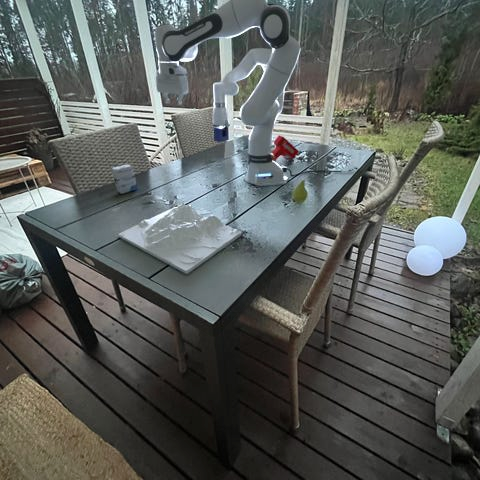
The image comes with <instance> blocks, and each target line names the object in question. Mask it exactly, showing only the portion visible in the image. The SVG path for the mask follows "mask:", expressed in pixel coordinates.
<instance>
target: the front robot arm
mask: <svg viewBox="0 0 480 480" xmlns="http://www.w3.org/2000/svg"><path fill="white" fill-rule="evenodd" d="M291 25H292V17H291V12H290V11H289V10H288V8H287V7H286V6H284V5H281V4H275V3H268V2H267V1H266V0H228V1H226V2H225V3H223V4H222V5H221V6H219V7H217V8H216V9H215V10H214V11H212V12H211V13H209V14H207V15H206V16H205V17H203V18H201V19H199V20H196V21H195V22H193V23H191V24H190V25H188V26H186V27H185V28H182V29H180V30H179V29H177V28H176V27H175V26H174V25H173V24H172V23H171V24H170V23H162V24H159V25H157V27H155V30H154V38H155V39H154V41H155V49H156V52H157V57H158V58H157V59H158V61H157V63H158V64H157V65H158V69H157V70H156V73H155V87H156V91H157V93H162V97H163V99H164V104H171V99H170V98H169V96H168V95H169V94H174V95H175V94H176V96H177V100H176V104H177V105H178V106H180V105H181V106H182V105H183V98H184V95H187V94H188V93H189V80H188V77H187V74H188V72H187V71H188V70H187V69H186V68H185V67H183V66H182V65H180V64H179V63H180V62H190V61H194V59H196V58H197V55H198V53H199V46H198V45H199V44H201V43H203V42H205V41H207V40H210V39H232V38H234V37H237V36H241V34H243V33H245V32H247V31H249V30H251V29H253V28H259V31H260V35H261V36H262V38H263V39H264V41H265V42H266V43H267V44H268V45H269V46H270V47H271V49H273V51H272V54H271V56H270V59H269V61H268V64H267V66H266V68H265V71H264V70H263V74H262V76H261V78H260V80H259V82H258V84H257V85H256V87H255V88H254V90H253V92H252V93H251V95H250V96H249V98H248V99H247V100H246V101H245V103H243V104H242V105H241V107H240V110H239V118H240V120H241V122H242V123H243V124H244V125H246V126H250V127H252V129H251V132H250V134H249V136H248V152H247V155H246V156H247V157H246V158H247V159H246V162H247V171H246V175H245V177H244V179H245V180H244V181H245V182H246V183H249V184H252V185H255V186H257V187H267V186H279V185H286V184H288V182H289V181H288V180H289V179H288V177H287V176H286V175H285V173H287V172H288V171H289V175H290V176H291V177H296V176H298V175H301V174H306V173H342V172H341V171H342V170H323V169H322V170H319V169H318V170H306V171H301V172H298V173H296V174H293V173H292V170H291V168H289V167H287V166H285V165H284V164H279V163H277V161H276V162H275V161H274V160H275V159H276V157H275V156H274V155H273V154H272V153H271V148H272V147H271V136H272V137H273V134H272V132H273V131H274V128H275V124H276V120H277V118H278V117H279V115H280V114H279V112H280V106H279V103H278V102H277V98H278V97H279V96H280V95H281V94H282V93H283V91H284V90H285V89H286V87H287V85H288V83H289V81H290V79H291V76H292V74H293V72H294V70H295V68H296V65H297V62H298V59H299V56H300V52H301V46H300V45H301V44H300V43H299V41H298V40H297V39H295V38H294V37H293V36H292V35H291V33H290V30H291ZM273 133H274V132H273ZM276 160H277V159H276ZM351 169H352V168H351ZM351 169H348V170H349V171H348V172H351V171H354V169H352V170H351ZM355 170H358V167H357V168H355Z"/></svg>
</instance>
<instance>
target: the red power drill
mask: <svg viewBox="0 0 480 480" xmlns="http://www.w3.org/2000/svg"><path fill="white" fill-rule="evenodd" d="M275 139H276V140H275V141H274V142H273V144H274V146H275V148H274V149H273V150H272V151H270V153H272V154H273V155H274V156H275V157H276V159H275V160H274V161H275V162H276V163H277V159H278V158H279V157H280V156H282V157H284V158H285V157H288V158H290V159H293V160H294V159H296V158H297V156H298V154H299V153H300V150H298V148H296V147H295V146H294V145H293V144H292V143H291V142H290V141H289V140H288V139H286V137H285V136H283V135H280V134H278V136H277V137H276V138H275Z"/></svg>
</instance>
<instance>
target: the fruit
mask: <svg viewBox="0 0 480 480" xmlns="http://www.w3.org/2000/svg"><path fill="white" fill-rule="evenodd" d="M310 177H311V175H310V174H309V175H308V176H307V177H305V179H302V180H301V181H300V182H298V184H297V185H296V186H295V187H294V188H293V190H292V191H291V198H292V200H293V201H294V202H295V203H297V204H301V203H304V202H305V201H306V200H307V198H308V196H309V195H308V190H307V189H306V184H305V183H306V180H308V179H309V178H310Z"/></svg>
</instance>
